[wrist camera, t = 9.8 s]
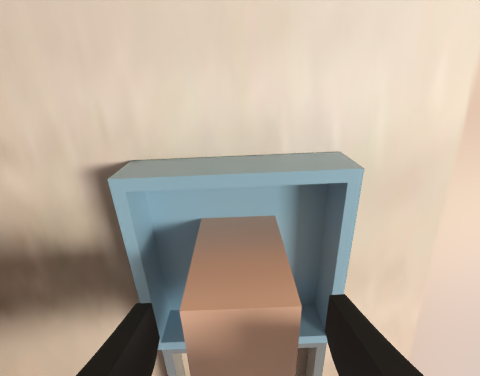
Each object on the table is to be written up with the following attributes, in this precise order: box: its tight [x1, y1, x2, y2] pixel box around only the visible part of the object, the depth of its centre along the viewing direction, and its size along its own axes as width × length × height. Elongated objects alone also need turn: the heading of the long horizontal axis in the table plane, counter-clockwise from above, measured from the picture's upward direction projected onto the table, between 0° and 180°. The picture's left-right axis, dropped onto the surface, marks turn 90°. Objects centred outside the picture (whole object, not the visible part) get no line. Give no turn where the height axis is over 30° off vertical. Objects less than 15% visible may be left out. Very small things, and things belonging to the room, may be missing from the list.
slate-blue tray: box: [107, 152, 364, 350], centre depth 14 cm, size 11×11×3 cm
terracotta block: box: [180, 216, 302, 376], centre depth 12 cm, size 4×4×6 cm
